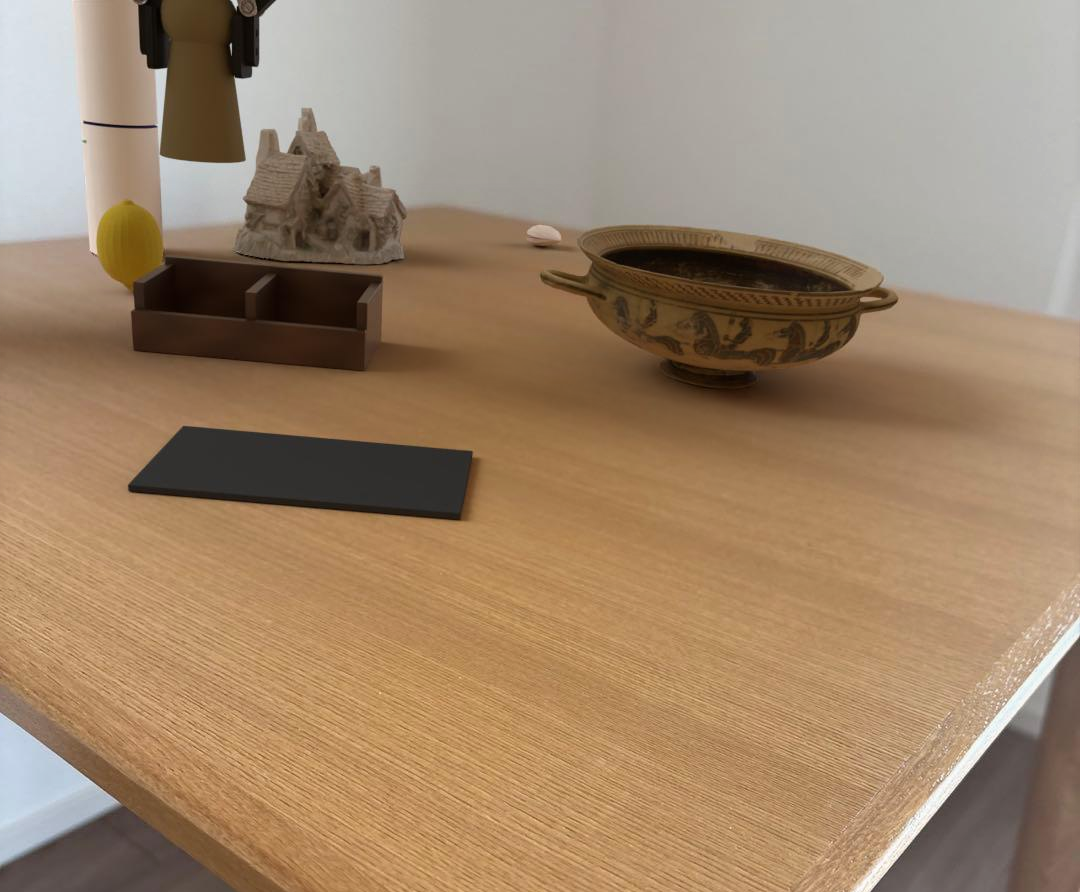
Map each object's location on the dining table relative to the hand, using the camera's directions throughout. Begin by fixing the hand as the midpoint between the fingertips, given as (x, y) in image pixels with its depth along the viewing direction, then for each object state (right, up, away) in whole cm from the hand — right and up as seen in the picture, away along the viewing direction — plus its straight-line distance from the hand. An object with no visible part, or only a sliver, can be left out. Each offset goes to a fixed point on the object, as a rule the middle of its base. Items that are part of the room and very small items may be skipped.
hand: (200, 70), depth 80 cm
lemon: (-13, -11, +22) cm, 28 cm away
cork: (-1, -5, +3) cm, 6 cm away
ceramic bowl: (+38, -20, +13) cm, 45 cm away
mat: (+11, -29, -14) cm, 34 cm away
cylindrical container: (-18, -4, +36) cm, 41 cm away
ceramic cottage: (0, -2, +45) cm, 45 cm away
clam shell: (+25, +3, +61) cm, 66 cm away
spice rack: (+2, -18, +9) cm, 20 cm away
